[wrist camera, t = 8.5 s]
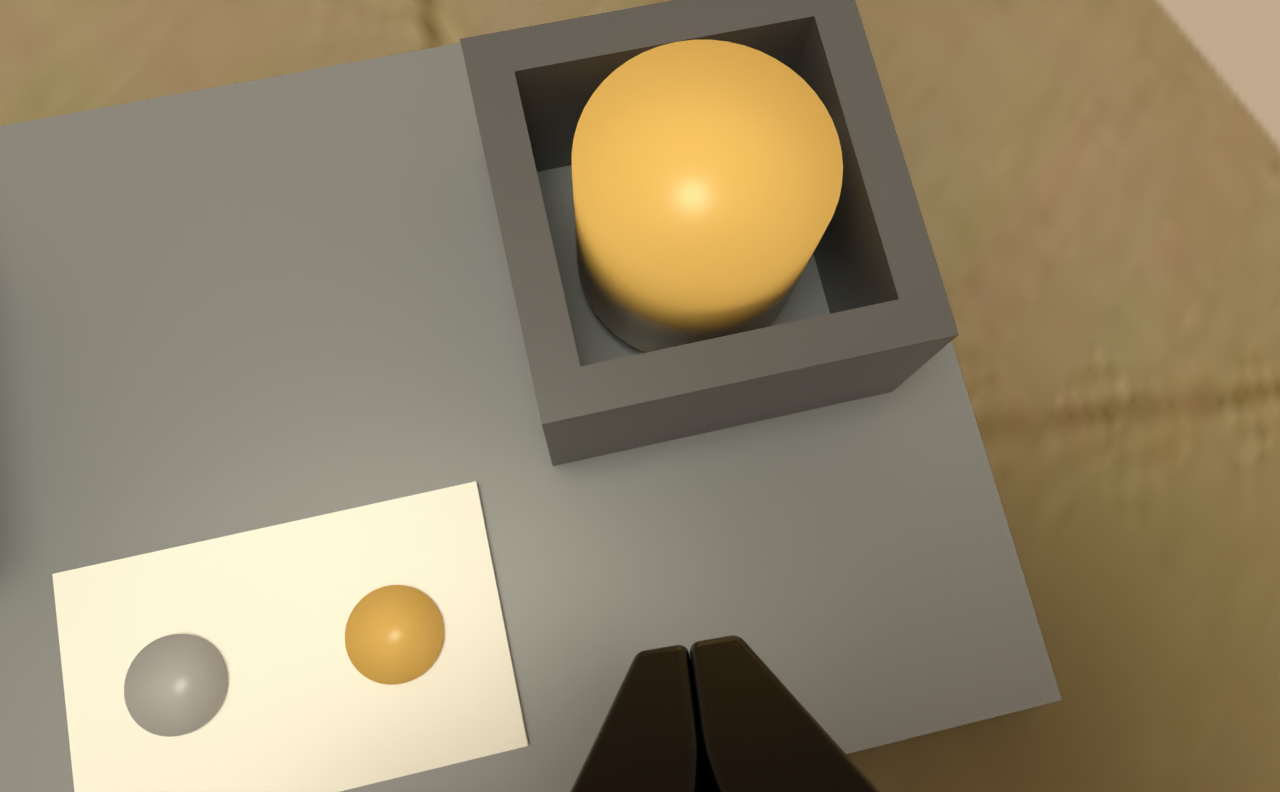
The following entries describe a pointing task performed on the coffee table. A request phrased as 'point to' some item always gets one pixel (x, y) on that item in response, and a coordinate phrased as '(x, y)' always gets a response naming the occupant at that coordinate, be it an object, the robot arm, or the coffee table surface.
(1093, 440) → the coffee table surface
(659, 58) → the amber button
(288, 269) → the button panel
